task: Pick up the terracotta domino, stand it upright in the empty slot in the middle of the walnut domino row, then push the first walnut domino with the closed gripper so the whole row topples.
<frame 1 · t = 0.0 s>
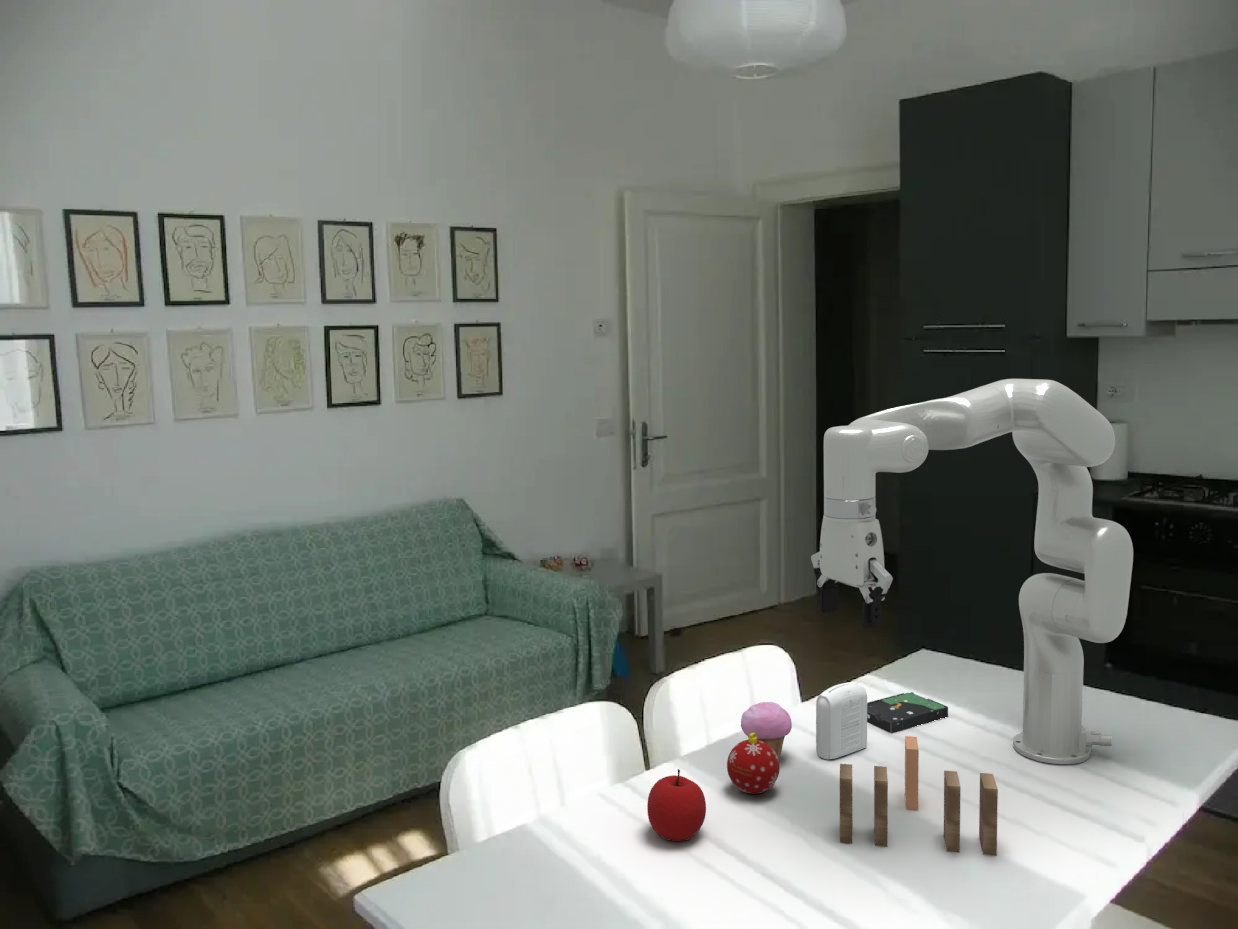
hand: (849, 619, 151), 31 cm above the table, tool pointing down, fingers open, 9 cm apart
cupcake: (766, 759, 176), on the table
apple: (677, 835, 150), on the table
photo printer: (841, 752, 177), on the table
domino 2: (951, 843, 145), on the table
domino 5: (846, 834, 148), on the table
domino 4: (880, 837, 147), on the table
christmas ornament: (753, 792, 163), on the table
disk drive: (901, 720, 192), on the table
domino 1: (987, 846, 144), on the table
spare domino: (911, 802, 158), on the table
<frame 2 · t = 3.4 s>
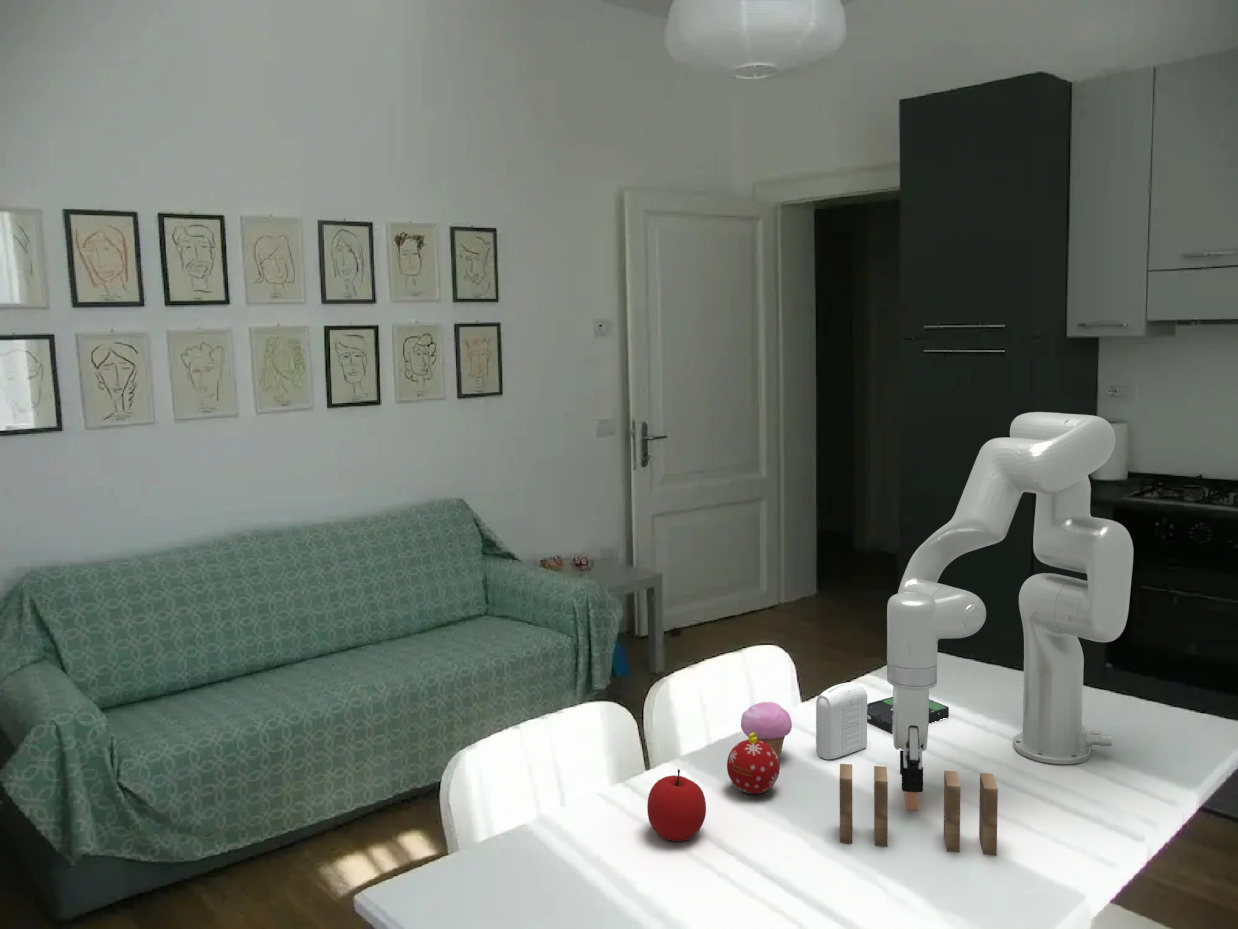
hand: (911, 782, 157), 3 cm above the table, tool pointing down, fingers closed on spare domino, 4 cm apart
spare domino: (911, 802, 158), on the table, touching gripper
when the fingers open (4 cm above the table, at t = 9.3 s): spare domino stays where it is, on the table.
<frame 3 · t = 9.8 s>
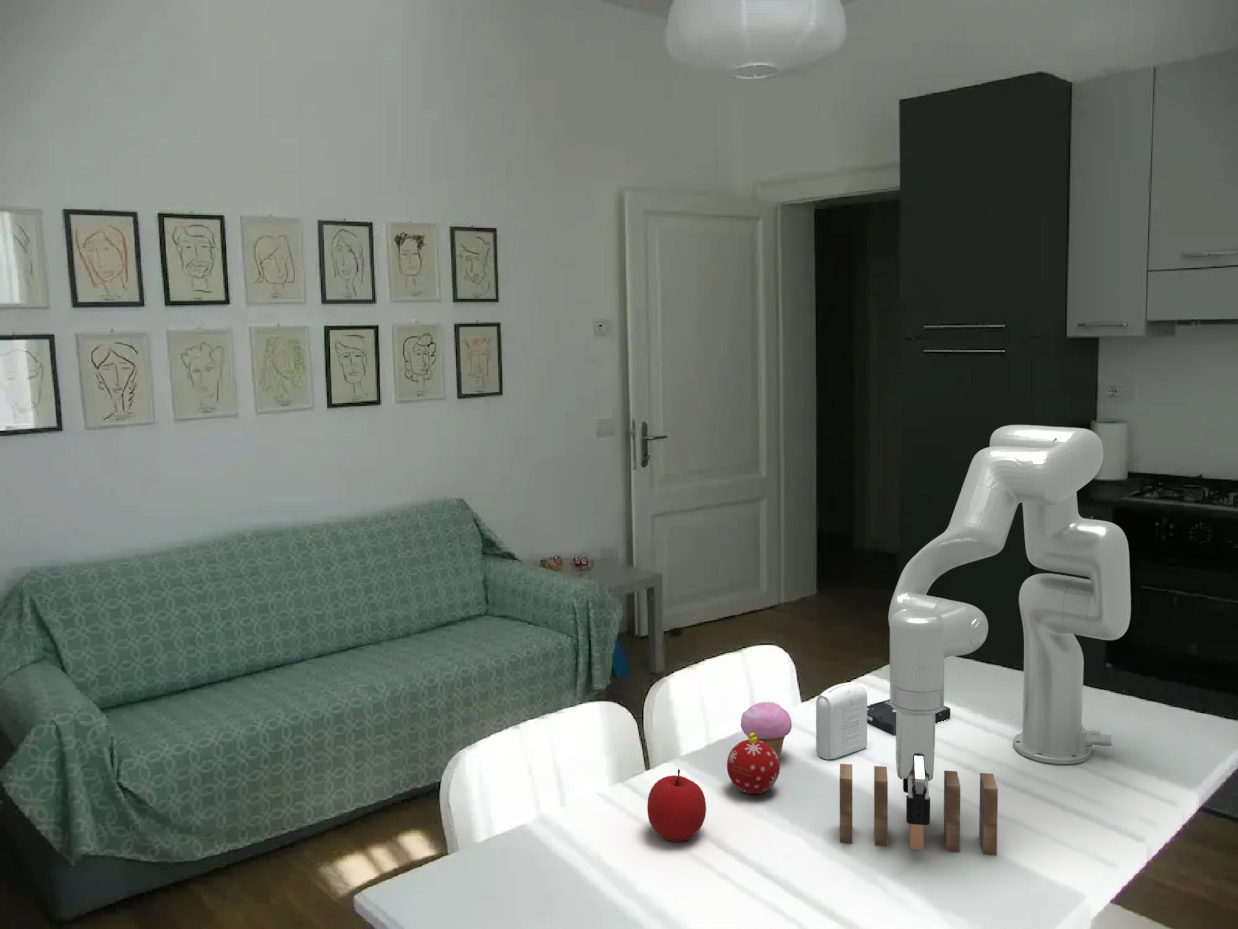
hand: (916, 807, 145), 5 cm above the table, tool pointing down, fingers open, 9 cm apart
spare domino: (915, 840, 146), on the table
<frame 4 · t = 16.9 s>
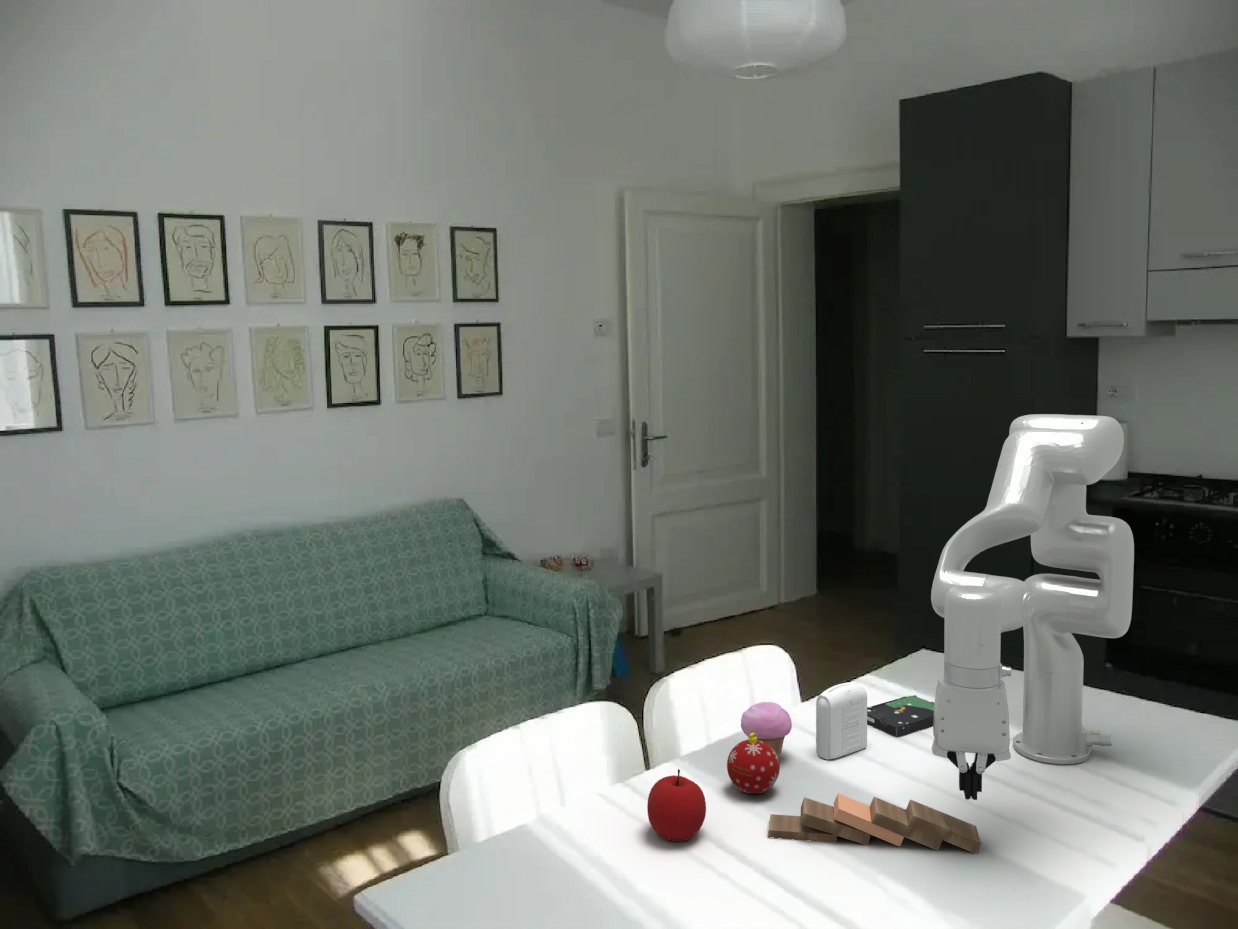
hand: (970, 795, 143), 8 cm above the table, tool pointing down, fingers closed
domino 2: (938, 836, 145), point 1 cm above the table, tilted 69°, touching domino 1, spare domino
domino 5: (836, 832, 148), on the table, tilted 90°, touching domino 4
domino 4: (868, 831, 147), point 1 cm above the table, tilted 74°, touching domino 5, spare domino
domino 1: (976, 839, 144), point 1 cm above the table, tilted 69°, touching domino 2
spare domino: (900, 832, 146), point 1 cm above the table, tilted 69°, touching domino 2, domino 4
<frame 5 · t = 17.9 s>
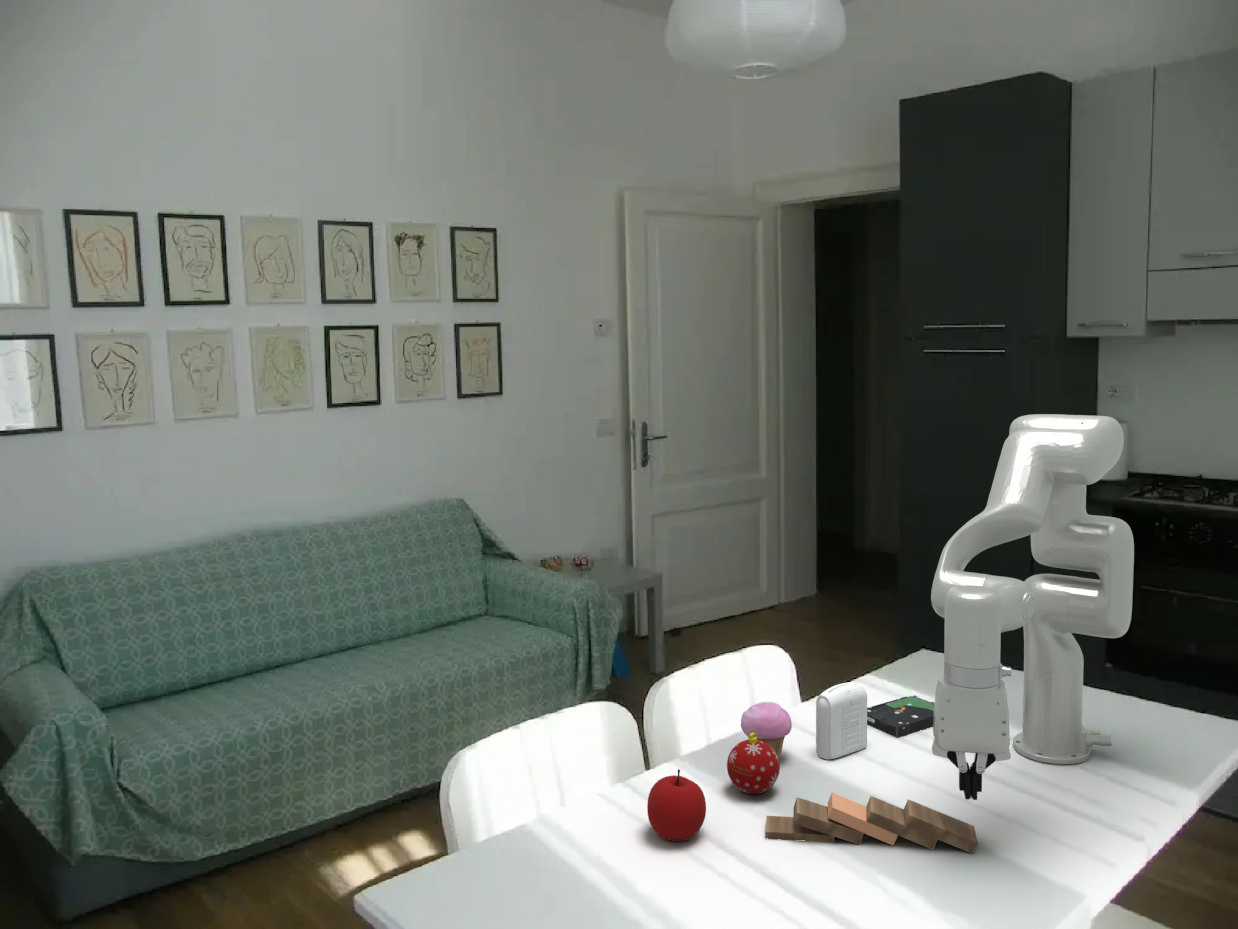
hand: (970, 795, 143), 8 cm above the table, tool pointing down, fingers closed
domino 4: (860, 831, 148), point 1 cm above the table, tilted 74°, touching domino 5, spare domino
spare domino: (894, 832, 147), point 1 cm above the table, tilted 69°, touching domino 2, domino 4
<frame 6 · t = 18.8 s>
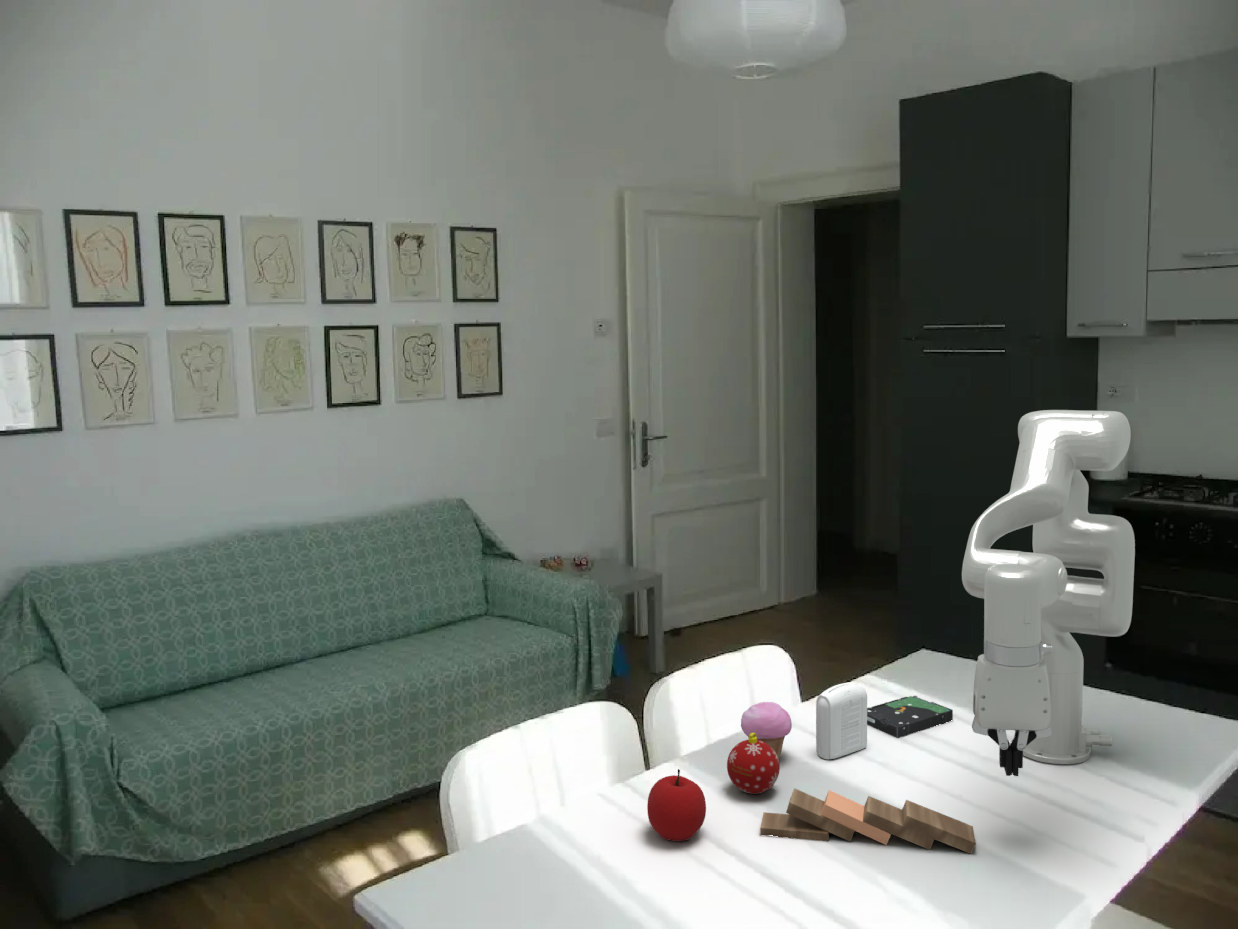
hand: (1010, 771, 144), 11 cm above the table, tool pointing down, fingers closed
domino 5: (828, 831, 149), on the table, tilted 90°
domino 4: (853, 828, 148), point 1 cm above the table, tilted 71°, touching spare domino
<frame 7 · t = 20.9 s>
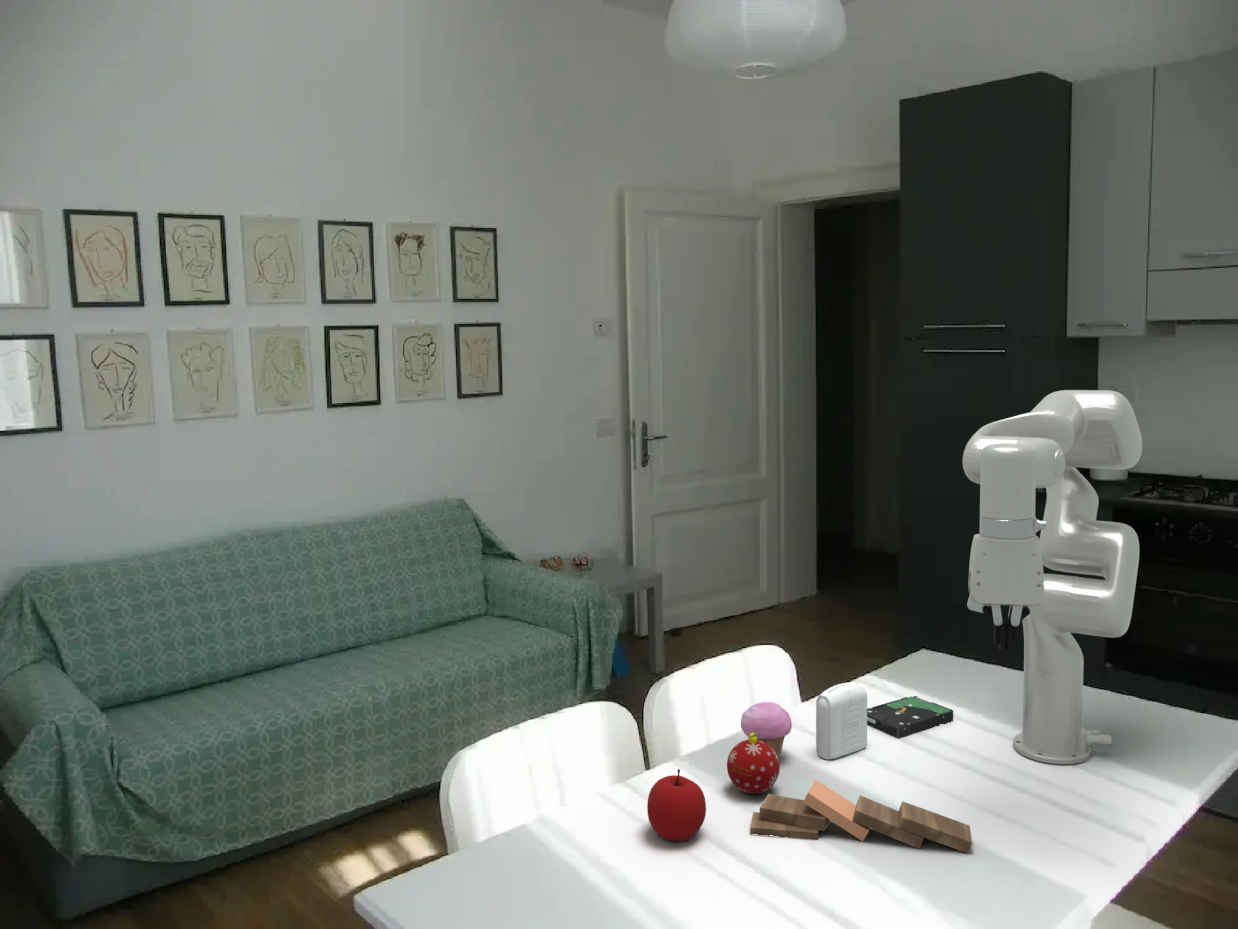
hand: (1004, 649, 147), 27 cm above the table, tool pointing down, fingers closed
domino 2: (922, 835, 146), point 1 cm above the table, tilted 72°, touching domino 1, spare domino
domino 5: (818, 830, 149), on the table, tilted 90°
domino 4: (828, 818, 150), point 2 cm above the table, tilted 89°, touching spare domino
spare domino: (868, 829, 148), point 1 cm above the table, tilted 63°, touching domino 2, domino 4
at the end: domino 5 tilted 90°; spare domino tilted 62°; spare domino inside the target area (4.5 cm from its centre), point 0.8 cm above the table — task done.
